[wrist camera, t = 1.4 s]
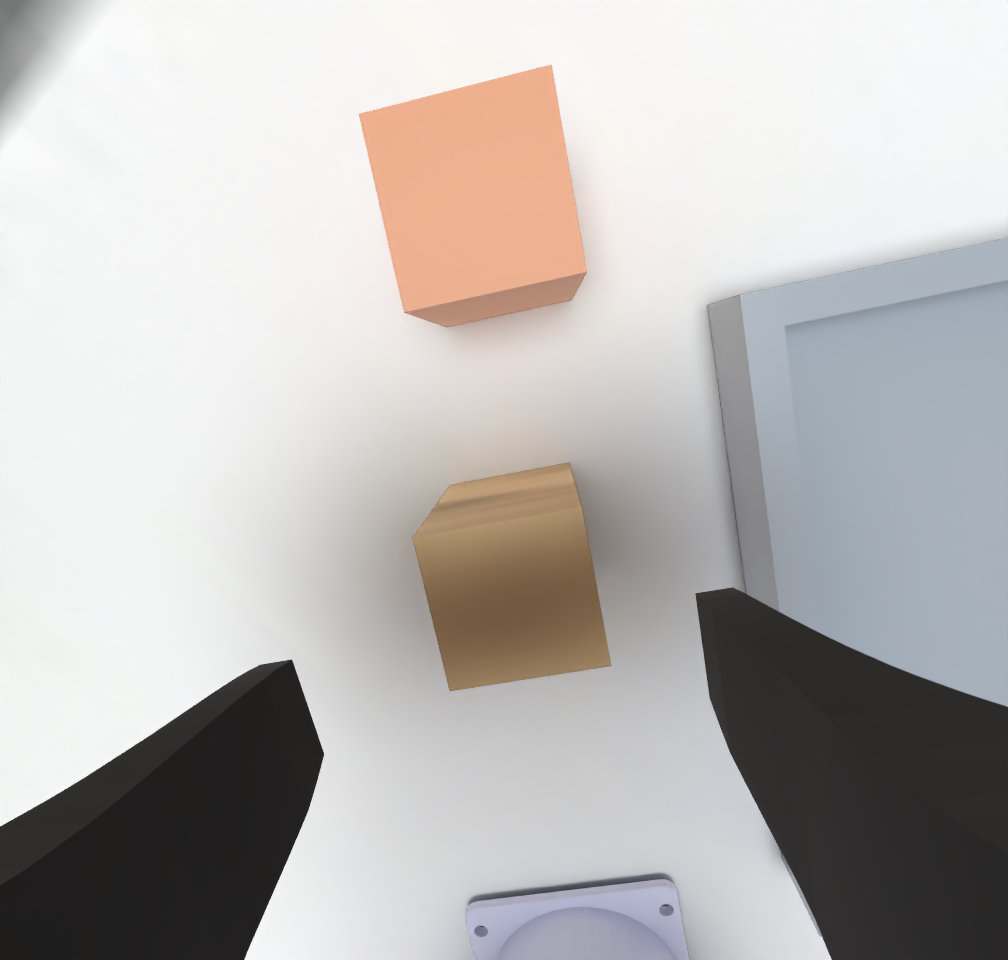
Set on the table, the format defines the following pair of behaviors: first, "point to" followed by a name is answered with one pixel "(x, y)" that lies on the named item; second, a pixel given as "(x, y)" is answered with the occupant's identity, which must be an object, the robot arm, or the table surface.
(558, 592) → the bronze block
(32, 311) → the table surface
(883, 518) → the slate tray
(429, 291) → the terracotta block
